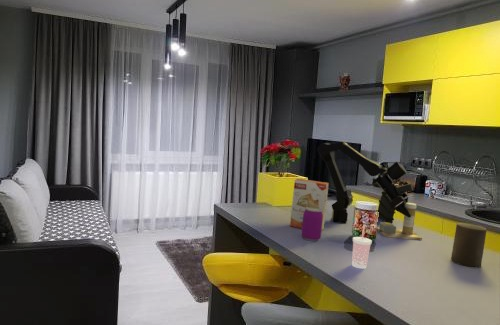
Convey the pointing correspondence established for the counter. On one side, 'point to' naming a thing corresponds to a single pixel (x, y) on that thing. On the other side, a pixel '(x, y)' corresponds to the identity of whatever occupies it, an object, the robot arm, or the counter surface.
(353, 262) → the beverage cup
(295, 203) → the cracker box
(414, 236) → the plywood board
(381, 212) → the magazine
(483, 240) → the pillar candle
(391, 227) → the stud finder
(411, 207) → the sprinkles bottle
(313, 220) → the beverage can
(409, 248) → the counter surface
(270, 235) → the counter surface
